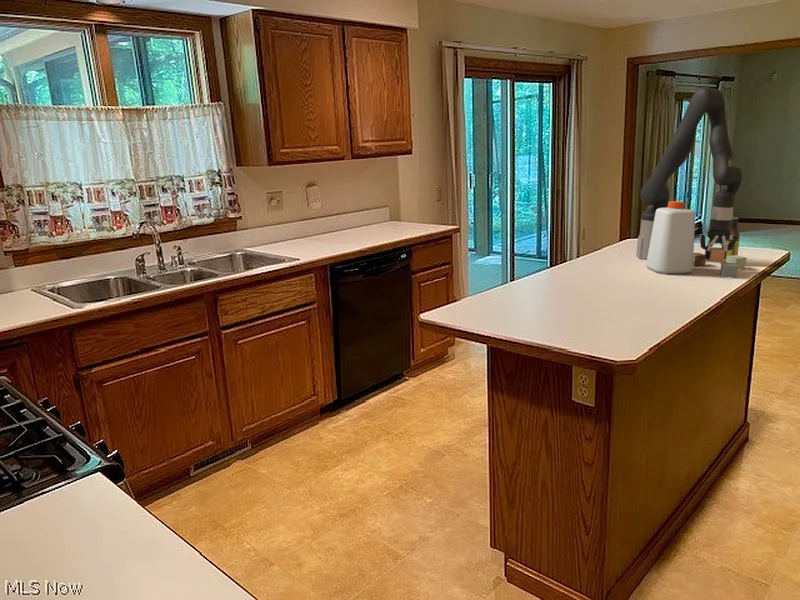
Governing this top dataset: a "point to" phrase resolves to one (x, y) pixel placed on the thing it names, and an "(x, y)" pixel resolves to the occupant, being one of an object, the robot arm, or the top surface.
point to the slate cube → (729, 270)
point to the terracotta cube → (716, 255)
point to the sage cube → (737, 261)
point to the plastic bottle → (672, 240)
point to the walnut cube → (699, 259)
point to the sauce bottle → (735, 232)
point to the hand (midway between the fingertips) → (714, 259)
